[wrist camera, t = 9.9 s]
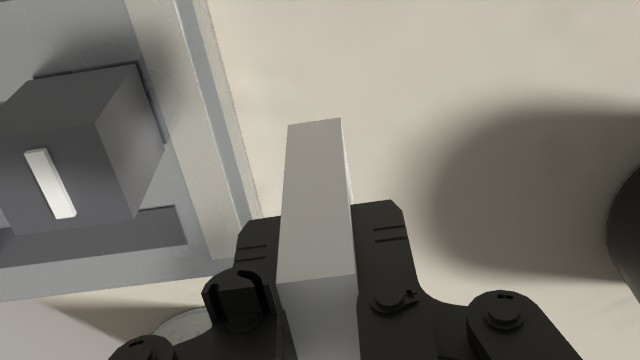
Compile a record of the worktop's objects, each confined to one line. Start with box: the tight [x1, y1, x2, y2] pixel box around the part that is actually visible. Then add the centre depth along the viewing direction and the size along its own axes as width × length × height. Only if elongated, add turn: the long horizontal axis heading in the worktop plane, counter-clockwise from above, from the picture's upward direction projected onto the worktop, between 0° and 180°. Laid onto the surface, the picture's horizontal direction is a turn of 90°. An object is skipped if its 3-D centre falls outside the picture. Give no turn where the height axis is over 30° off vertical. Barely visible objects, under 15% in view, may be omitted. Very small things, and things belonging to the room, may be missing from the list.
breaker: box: [0, 64, 165, 236], centre depth 20 cm, size 4×4×5 cm
